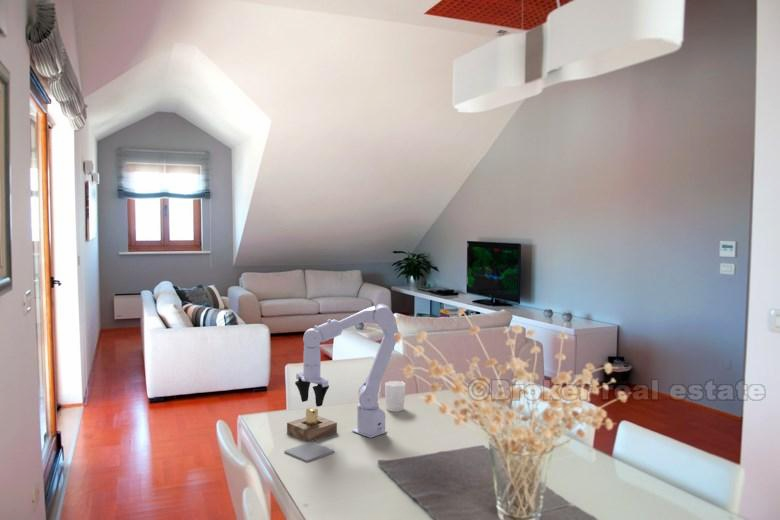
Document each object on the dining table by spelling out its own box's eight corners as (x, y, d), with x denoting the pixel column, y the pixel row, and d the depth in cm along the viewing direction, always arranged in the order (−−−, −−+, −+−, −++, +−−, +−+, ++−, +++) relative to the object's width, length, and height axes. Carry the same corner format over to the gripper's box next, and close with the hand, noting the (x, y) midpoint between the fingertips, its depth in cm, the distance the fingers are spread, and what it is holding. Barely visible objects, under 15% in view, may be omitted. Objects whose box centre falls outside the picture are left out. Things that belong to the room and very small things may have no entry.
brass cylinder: (320, 432, 207) (320, 409, 206) (311, 435, 204) (311, 412, 203) (312, 429, 209) (312, 407, 209) (303, 432, 206) (303, 409, 206)
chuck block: (336, 432, 207) (336, 422, 207) (309, 441, 198) (309, 431, 198) (314, 424, 215) (314, 414, 215) (287, 432, 206) (287, 422, 206)
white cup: (408, 408, 234) (409, 382, 234) (398, 413, 228) (398, 387, 227) (391, 404, 239) (391, 379, 238) (380, 410, 232) (380, 384, 231)
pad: (334, 452, 189) (334, 450, 189) (307, 462, 181) (307, 460, 181) (311, 443, 197) (311, 441, 197) (284, 452, 189) (284, 450, 188)
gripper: (289, 362, 207) (289, 401, 208) (316, 369, 197) (316, 410, 198) (305, 359, 212) (305, 397, 213) (333, 366, 202) (332, 406, 203)
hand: (311, 403), depth 206 cm, fingers open, 7 cm apart
